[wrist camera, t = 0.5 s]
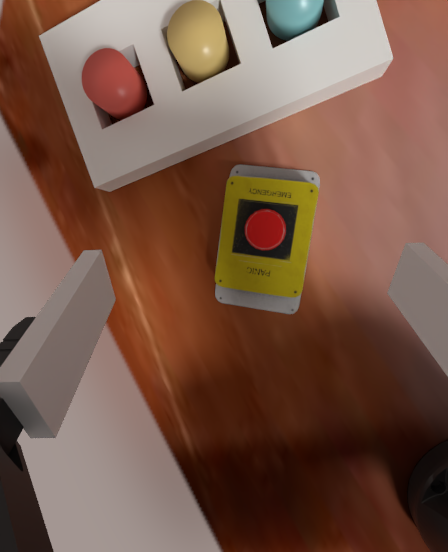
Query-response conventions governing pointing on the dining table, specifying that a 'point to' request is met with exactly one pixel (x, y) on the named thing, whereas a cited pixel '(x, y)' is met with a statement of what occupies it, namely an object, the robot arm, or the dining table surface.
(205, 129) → the button panel
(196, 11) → the ochre button
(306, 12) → the teal button
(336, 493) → the dining table surface
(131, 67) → the red button
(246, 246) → the emergency button
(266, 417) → the dining table surface
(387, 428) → the dining table surface
